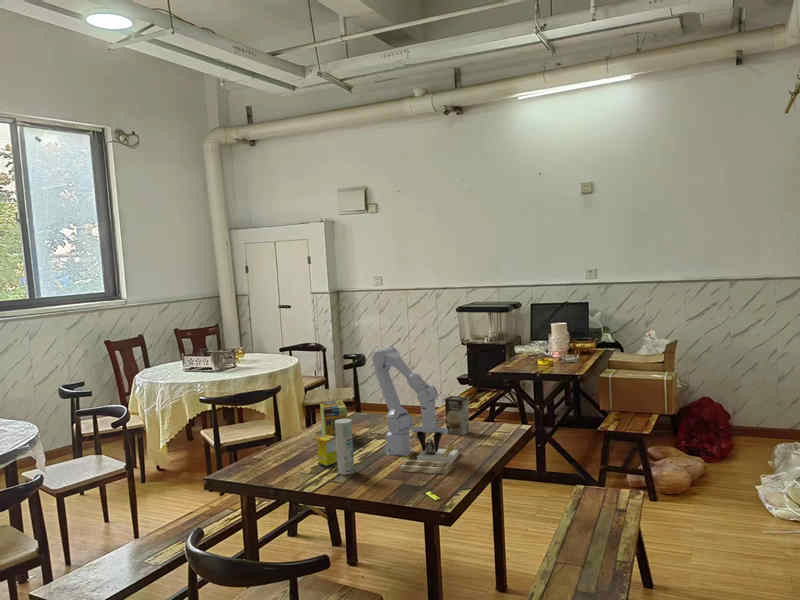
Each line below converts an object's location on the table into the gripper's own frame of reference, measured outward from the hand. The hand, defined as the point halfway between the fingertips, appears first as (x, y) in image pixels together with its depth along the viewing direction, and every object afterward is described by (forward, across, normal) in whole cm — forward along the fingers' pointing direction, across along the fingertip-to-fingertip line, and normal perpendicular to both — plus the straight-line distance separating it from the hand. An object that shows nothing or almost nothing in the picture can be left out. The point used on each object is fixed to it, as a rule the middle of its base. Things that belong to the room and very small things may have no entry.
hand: (430, 450), depth 246 cm
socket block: (+3, +3, 0) cm, 5 cm away
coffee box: (+4, +2, +37) cm, 37 cm away
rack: (+3, +2, -13) cm, 14 cm away
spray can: (+4, -28, -20) cm, 35 cm away
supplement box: (+4, -39, -13) cm, 41 cm away
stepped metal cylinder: (+3, 0, 0) cm, 3 cm away
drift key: (+3, +7, +2) cm, 7 cm away
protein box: (+4, -52, +21) cm, 56 cm away
